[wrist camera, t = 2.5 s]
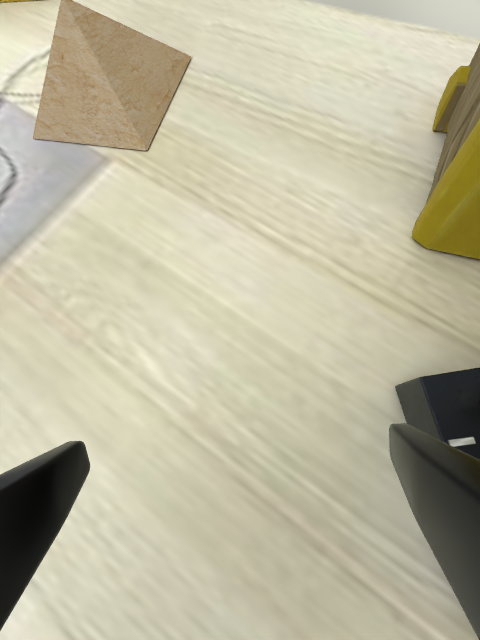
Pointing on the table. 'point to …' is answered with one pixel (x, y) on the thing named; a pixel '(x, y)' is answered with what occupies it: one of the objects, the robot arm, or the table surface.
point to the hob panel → (445, 407)
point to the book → (14, 0)
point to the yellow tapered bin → (456, 170)
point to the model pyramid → (105, 82)
